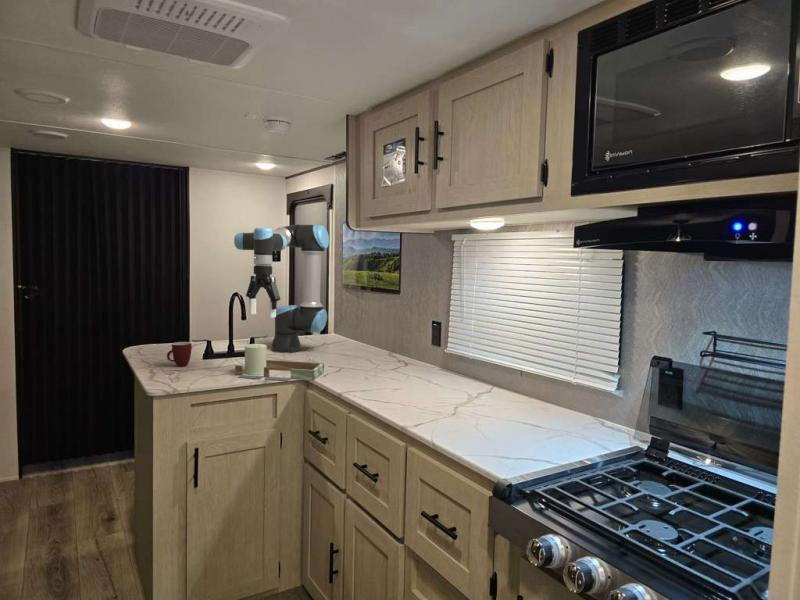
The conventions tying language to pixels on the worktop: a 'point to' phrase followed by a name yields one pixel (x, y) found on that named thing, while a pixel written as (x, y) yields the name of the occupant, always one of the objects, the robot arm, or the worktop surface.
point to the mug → (180, 353)
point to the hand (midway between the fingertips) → (262, 315)
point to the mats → (265, 378)
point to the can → (255, 359)
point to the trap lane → (291, 369)
